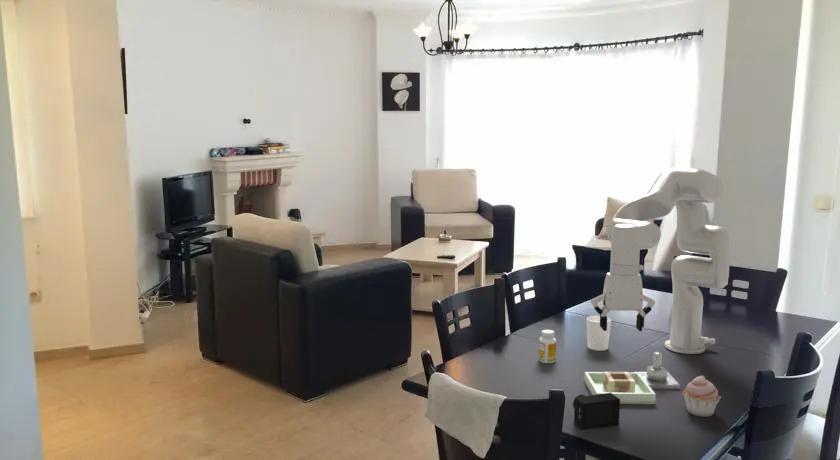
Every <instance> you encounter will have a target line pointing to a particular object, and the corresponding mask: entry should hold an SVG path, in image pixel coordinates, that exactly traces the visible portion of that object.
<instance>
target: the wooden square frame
mask: <svg viewBox="0 0 840 460" xmlns="http://www.w3.org/2000/svg"><path fill="white" fill-rule="evenodd" d="M602 372H603V386H604V388H605V389H606V391H607V392H618V393H635V380H634V379H633V378H632V376H631V375H630V374H629V371H602Z"/></svg>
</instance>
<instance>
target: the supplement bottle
mask: <svg viewBox="0 0 840 460" xmlns="http://www.w3.org/2000/svg"><path fill="white" fill-rule="evenodd" d="M556 360H557V339H556V338H555V331H554V330H552V329H543V330H541V336H540V337H539V339H538V361H539V362H540V363H543V364H554V363H555V362H556Z"/></svg>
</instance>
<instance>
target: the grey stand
mask: <svg viewBox="0 0 840 460" xmlns="http://www.w3.org/2000/svg"><path fill="white" fill-rule="evenodd" d="M662 364H663V352H660V351H654V352H653V358H652V365H649V366H647V367H646V371H637V372H638V373H639V374H640V375H641V376H642V378H643V379H644V380H645V381H646V383H647V384H648V385H649V386H650V388H651V389H652V390H681V389H680V388H681V385H680V384H679V382H678V381H677V380H676V379H675V378H674V377H673V376H672V375H671V374H670V372H669V371H668V369H667V368H665V367H663V365H662Z"/></svg>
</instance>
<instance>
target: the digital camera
mask: <svg viewBox="0 0 840 460" xmlns="http://www.w3.org/2000/svg"><path fill="white" fill-rule="evenodd" d="M572 406H573V410H574V412H573V415H574V417H573V423H574V424H575V425H576V426H577V427H578V428H579V429H581V430H582V431H585V430H591V429H593V430H594V429H600V428H606V427H612V426H613V427H614V426H619V425H620V408H621V404H620V399H619V398H618V397H616V396H615V395H613V394H612V393H605V394H597V395H592V394H591V395H585V394H579V395H577V396H576V397H574V399H573V402H572Z"/></svg>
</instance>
